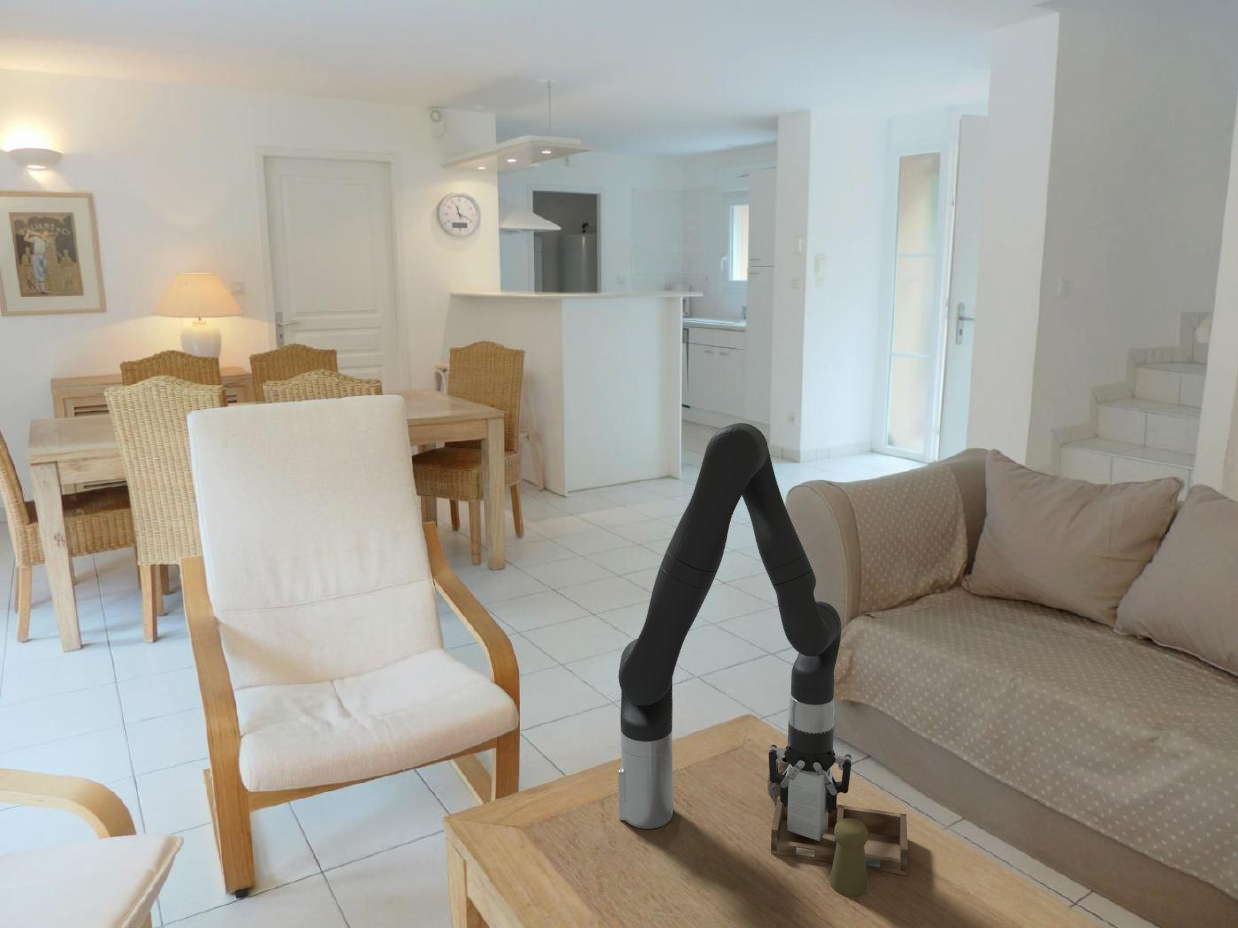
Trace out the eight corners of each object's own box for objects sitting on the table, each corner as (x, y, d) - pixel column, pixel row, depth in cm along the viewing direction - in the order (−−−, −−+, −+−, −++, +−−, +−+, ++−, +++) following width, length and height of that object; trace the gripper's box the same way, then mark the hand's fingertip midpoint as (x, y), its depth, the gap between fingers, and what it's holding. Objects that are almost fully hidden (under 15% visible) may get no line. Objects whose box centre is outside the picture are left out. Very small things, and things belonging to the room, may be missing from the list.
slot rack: (770, 853, 153) (771, 829, 152) (777, 818, 163) (777, 795, 162) (906, 875, 147) (907, 850, 146) (904, 837, 157) (906, 814, 156)
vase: (804, 814, 164) (806, 771, 162) (766, 811, 165) (767, 768, 163) (804, 793, 170) (806, 751, 168) (767, 789, 172) (768, 748, 170)
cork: (846, 901, 142) (849, 839, 139) (821, 878, 147) (823, 818, 145) (876, 888, 145) (879, 828, 142) (850, 866, 150) (853, 807, 147)
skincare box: (828, 828, 156) (830, 766, 154) (819, 842, 153) (822, 778, 150) (795, 817, 160) (797, 756, 157) (785, 830, 156) (787, 768, 153)
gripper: (765, 725, 150) (763, 813, 154) (854, 736, 146) (850, 826, 150) (770, 703, 157) (768, 789, 161) (856, 714, 153) (851, 801, 157)
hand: (808, 807), depth 155 cm, fingers closed on skincare box, 7 cm apart
